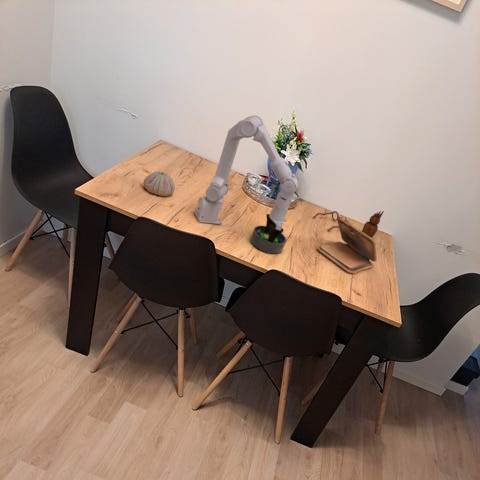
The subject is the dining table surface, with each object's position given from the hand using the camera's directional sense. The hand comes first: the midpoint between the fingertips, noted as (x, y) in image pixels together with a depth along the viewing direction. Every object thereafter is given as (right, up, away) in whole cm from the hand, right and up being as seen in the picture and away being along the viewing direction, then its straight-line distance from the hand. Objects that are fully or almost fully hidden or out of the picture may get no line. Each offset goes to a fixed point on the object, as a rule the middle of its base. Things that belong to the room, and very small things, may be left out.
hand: (269, 237), depth 188 cm
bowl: (-1, -3, +2) cm, 4 cm away
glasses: (+32, +13, +42) cm, 55 cm away
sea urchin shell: (-47, +21, +10) cm, 52 cm away
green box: (-1, -2, +2) cm, 3 cm away
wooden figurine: (+51, +8, +45) cm, 69 cm away
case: (+34, -7, +16) cm, 39 cm away
